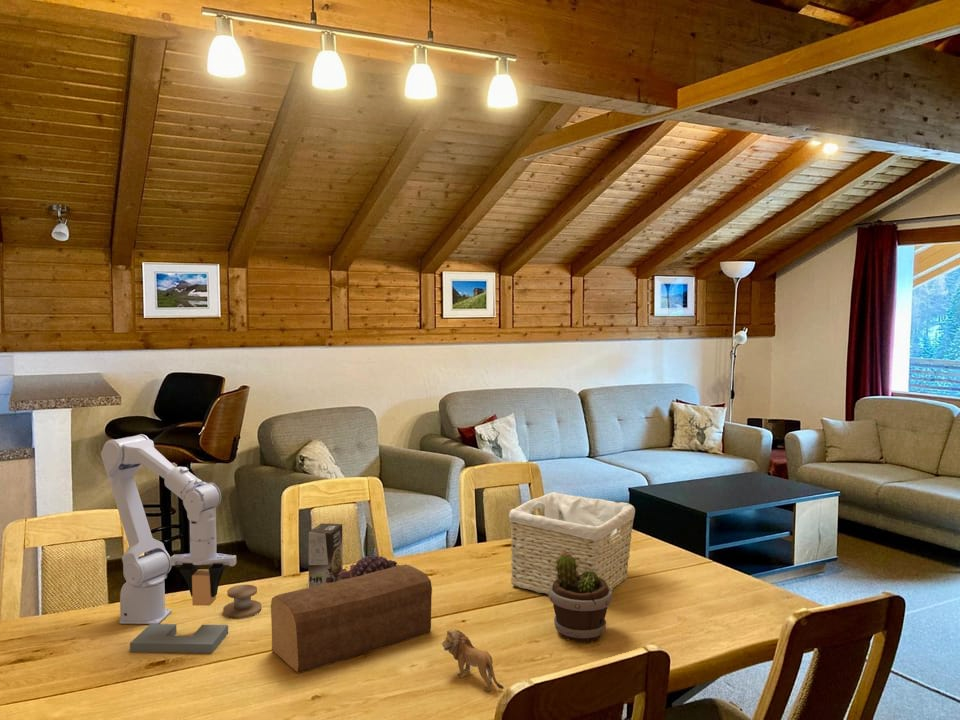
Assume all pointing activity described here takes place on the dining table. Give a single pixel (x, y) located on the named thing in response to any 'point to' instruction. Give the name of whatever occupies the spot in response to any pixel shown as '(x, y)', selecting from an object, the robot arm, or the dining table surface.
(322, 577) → the coffee box
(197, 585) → the copper block
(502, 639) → the dining table surface
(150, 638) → the notched board
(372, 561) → the purple lumpy cluster
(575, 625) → the flowerpot
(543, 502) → the basket
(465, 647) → the lion figurine
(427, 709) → the dining table surface
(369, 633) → the bread
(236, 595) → the spool post
